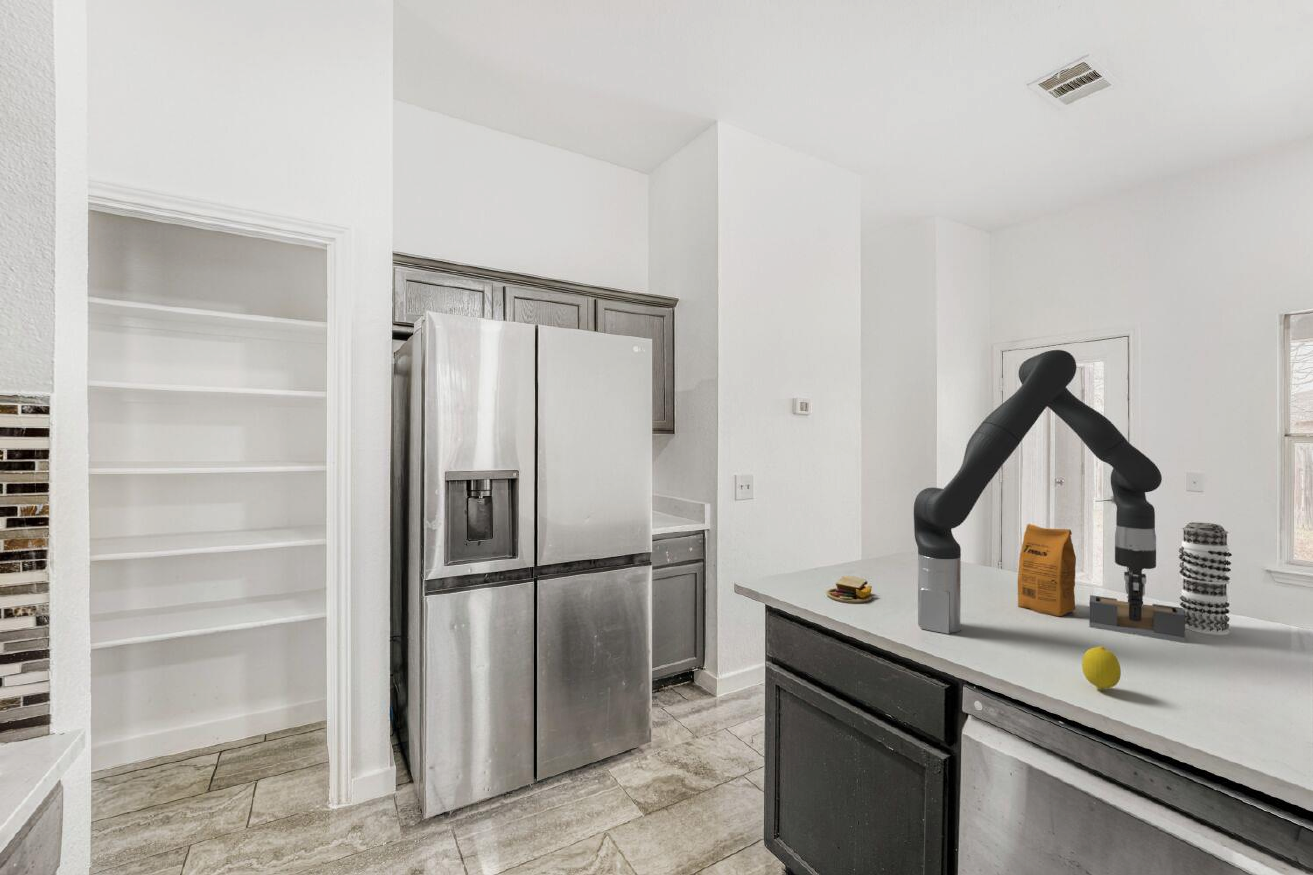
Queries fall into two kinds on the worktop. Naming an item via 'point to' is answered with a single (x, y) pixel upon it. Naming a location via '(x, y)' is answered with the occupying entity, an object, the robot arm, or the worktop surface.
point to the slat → (1146, 614)
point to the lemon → (1101, 668)
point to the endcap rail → (1164, 627)
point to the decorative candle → (1205, 578)
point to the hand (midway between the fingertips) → (1134, 618)
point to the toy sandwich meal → (850, 590)
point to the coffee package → (1047, 571)
